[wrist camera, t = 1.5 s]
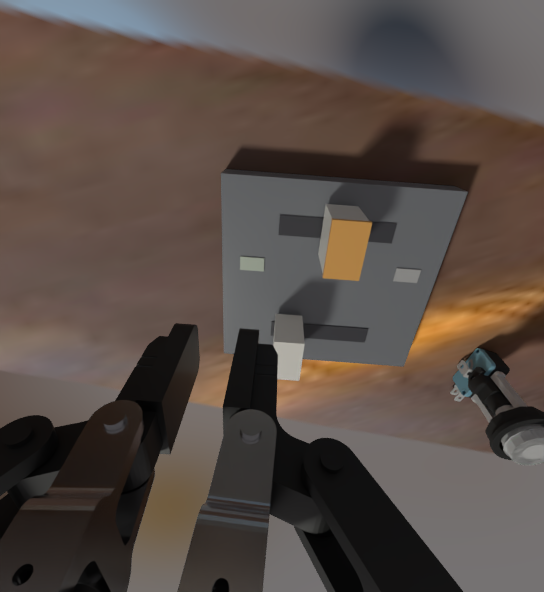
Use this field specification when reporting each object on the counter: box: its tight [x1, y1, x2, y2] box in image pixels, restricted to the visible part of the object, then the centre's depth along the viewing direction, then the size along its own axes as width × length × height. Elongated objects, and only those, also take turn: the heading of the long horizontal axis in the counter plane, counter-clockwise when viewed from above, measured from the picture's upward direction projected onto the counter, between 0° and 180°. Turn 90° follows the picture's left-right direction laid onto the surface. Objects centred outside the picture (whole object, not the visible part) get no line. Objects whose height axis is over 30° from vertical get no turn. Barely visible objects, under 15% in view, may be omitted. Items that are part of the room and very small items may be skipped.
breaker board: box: [221, 169, 468, 381], centre depth 26 cm, size 18×17×6 cm
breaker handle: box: [318, 204, 372, 281], centre depth 22 cm, size 2×4×4 cm, turn 176°
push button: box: [450, 348, 544, 465], centre depth 30 cm, size 7×5×10 cm
